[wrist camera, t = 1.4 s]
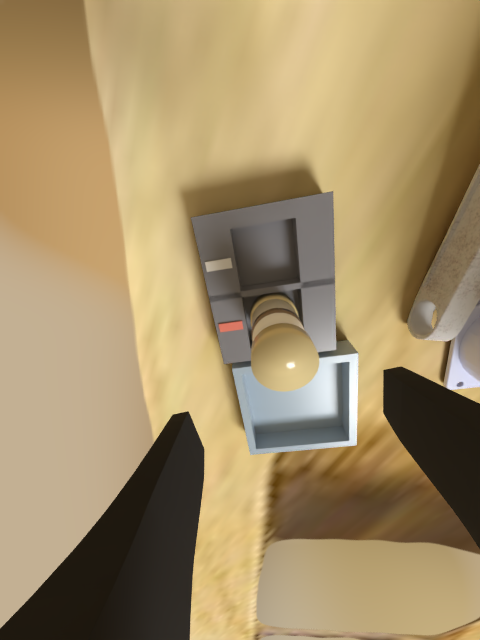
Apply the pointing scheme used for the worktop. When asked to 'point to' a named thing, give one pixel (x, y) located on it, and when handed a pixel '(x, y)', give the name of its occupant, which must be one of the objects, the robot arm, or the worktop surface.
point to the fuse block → (270, 267)
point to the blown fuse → (280, 345)
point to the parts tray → (302, 406)
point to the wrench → (452, 275)
